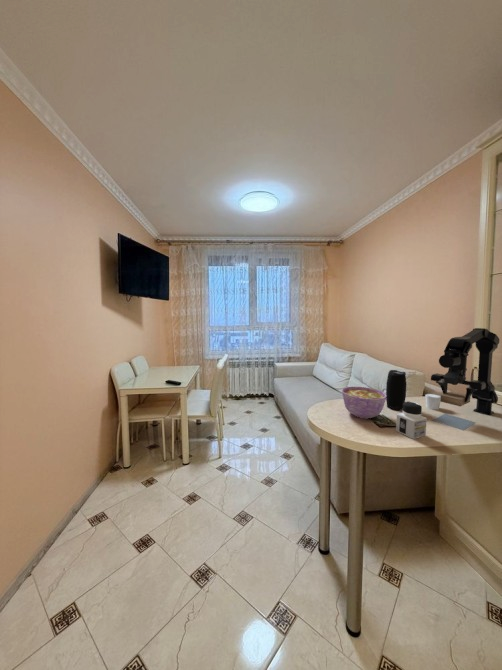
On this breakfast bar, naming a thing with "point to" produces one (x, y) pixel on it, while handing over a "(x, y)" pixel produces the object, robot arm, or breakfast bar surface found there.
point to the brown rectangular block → (454, 398)
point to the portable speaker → (396, 389)
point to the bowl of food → (363, 401)
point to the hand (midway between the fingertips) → (455, 399)
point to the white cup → (433, 401)
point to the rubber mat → (454, 421)
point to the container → (411, 421)
